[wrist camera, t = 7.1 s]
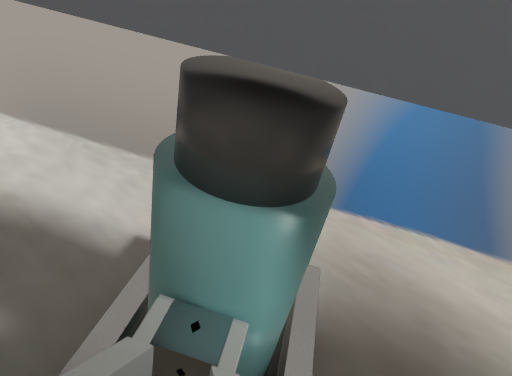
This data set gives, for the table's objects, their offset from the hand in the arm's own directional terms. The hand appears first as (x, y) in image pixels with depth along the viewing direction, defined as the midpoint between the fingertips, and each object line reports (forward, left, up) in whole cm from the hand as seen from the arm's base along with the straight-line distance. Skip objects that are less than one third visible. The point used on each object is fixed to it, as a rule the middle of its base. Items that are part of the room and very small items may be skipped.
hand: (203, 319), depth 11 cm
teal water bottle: (0, -3, -7) cm, 8 cm away
